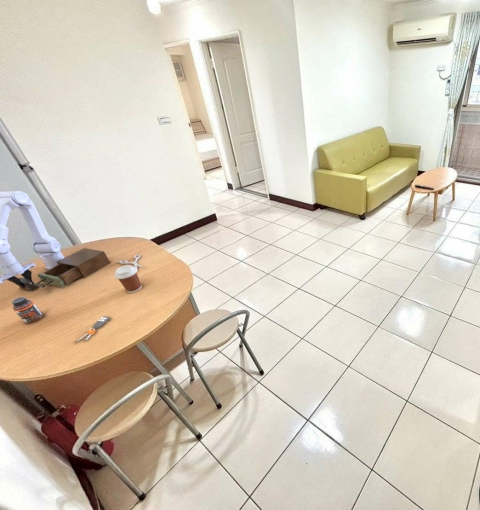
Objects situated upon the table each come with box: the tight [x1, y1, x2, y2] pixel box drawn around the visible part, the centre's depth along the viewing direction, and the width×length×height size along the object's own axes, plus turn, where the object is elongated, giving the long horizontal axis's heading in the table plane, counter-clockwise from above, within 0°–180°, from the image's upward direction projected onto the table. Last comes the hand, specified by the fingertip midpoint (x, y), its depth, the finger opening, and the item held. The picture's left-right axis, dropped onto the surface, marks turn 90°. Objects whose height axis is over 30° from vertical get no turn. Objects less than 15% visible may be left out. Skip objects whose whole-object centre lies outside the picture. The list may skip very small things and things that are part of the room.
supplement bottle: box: [11, 296, 44, 324], centre depth 118 cm, size 6×6×11 cm
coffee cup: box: [114, 264, 143, 293], centre depth 134 cm, size 9×9×12 cm
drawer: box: [34, 264, 82, 289], centre depth 140 cm, size 18×13×6 cm
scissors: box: [117, 254, 144, 270], centre depth 155 cm, size 11×1×20 cm
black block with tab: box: [18, 277, 39, 292], centre depth 137 cm, size 9×3×5 cm, turn 75°
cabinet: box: [57, 247, 111, 279], centre depth 150 cm, size 15×15×8 cm
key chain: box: [76, 315, 110, 342], centre depth 115 cm, size 13×4×2 cm, turn 174°
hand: (27, 285), depth 137 cm, fingers closed on black block with tab, 3 cm apart
